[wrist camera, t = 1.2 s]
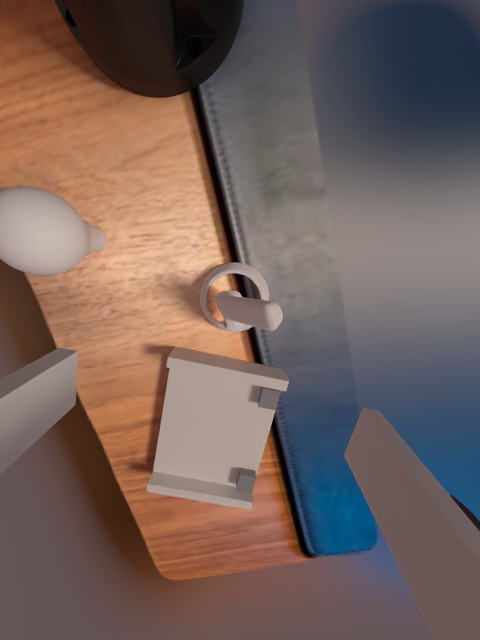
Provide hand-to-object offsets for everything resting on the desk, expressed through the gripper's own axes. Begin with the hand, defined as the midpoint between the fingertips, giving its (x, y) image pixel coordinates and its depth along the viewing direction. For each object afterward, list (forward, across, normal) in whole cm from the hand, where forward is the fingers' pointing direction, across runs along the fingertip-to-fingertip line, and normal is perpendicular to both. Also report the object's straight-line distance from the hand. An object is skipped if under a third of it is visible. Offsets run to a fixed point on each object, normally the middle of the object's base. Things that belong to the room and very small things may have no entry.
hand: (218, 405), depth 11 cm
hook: (+18, 0, +2) cm, 18 cm away
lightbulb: (+17, -15, +5) cm, 24 cm away
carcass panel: (+17, +1, -14) cm, 22 cm away
